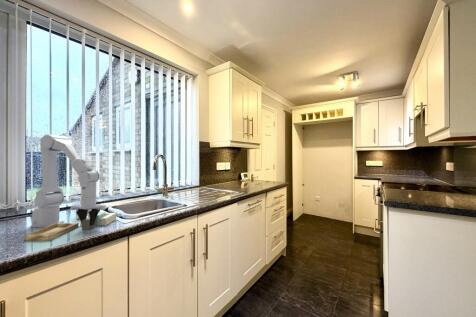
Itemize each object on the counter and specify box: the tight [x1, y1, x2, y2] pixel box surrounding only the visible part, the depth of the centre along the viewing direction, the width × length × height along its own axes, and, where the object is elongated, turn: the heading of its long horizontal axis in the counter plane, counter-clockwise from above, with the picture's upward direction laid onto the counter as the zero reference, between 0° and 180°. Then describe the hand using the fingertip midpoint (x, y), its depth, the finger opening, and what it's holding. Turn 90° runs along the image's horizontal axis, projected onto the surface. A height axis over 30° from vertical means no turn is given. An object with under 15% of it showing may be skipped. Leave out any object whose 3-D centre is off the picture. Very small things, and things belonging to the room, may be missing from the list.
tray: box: [23, 222, 80, 242], centre depth 89 cm, size 10×16×2 cm, turn 5°
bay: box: [79, 212, 117, 227], centre depth 105 cm, size 12×10×4 cm
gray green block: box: [81, 211, 107, 231], centre depth 100 cm, size 5×12×5 cm, turn 5°
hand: (88, 224), depth 96 cm, fingers closed on gray green block, 3 cm apart
